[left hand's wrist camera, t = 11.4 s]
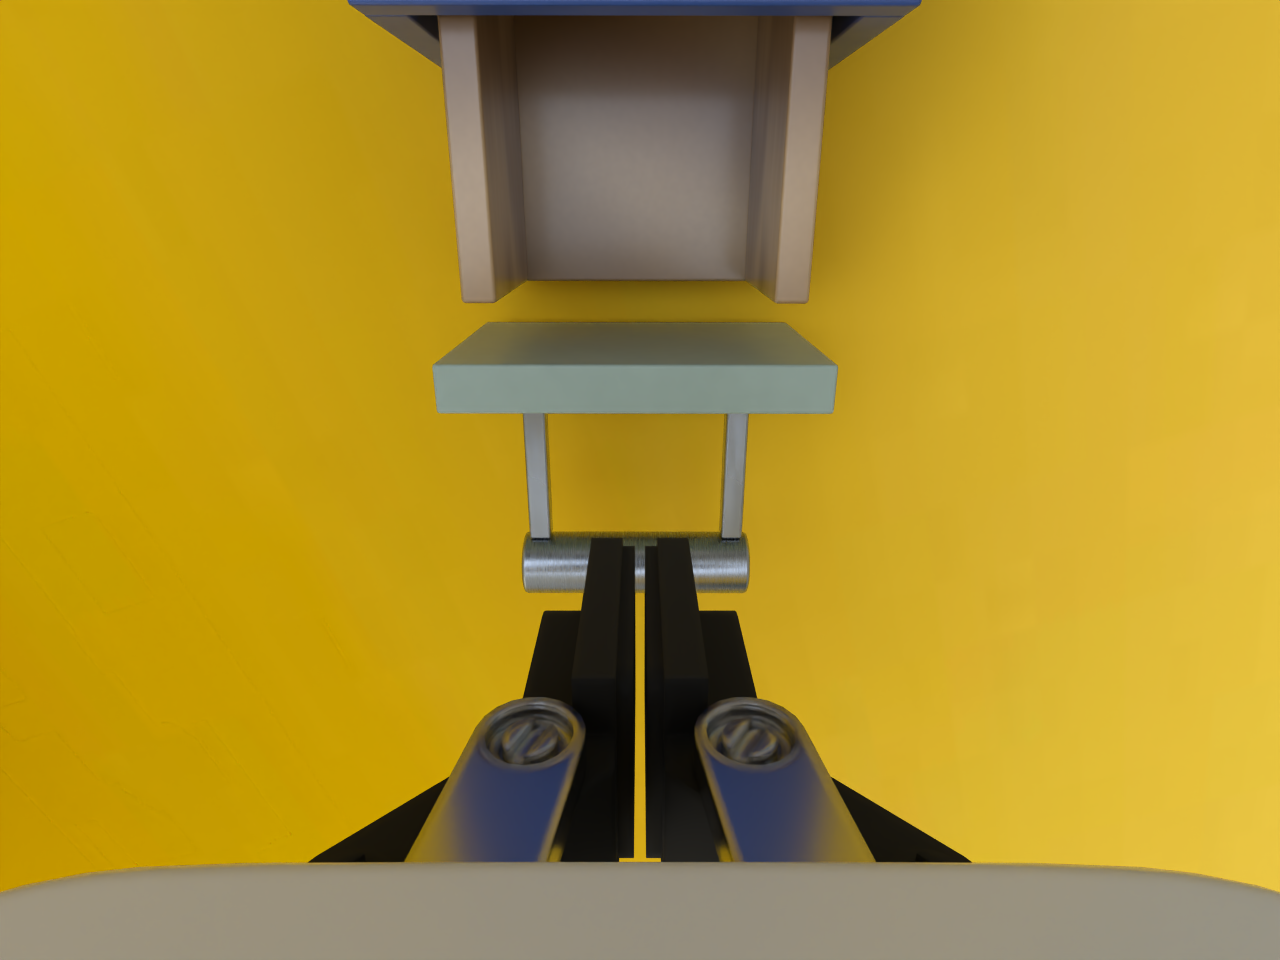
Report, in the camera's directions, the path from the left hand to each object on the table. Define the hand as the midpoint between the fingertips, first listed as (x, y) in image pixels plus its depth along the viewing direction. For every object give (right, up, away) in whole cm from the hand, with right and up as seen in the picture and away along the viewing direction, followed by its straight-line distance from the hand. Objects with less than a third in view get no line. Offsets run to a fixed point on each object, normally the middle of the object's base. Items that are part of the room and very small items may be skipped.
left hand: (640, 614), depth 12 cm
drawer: (0, +9, +10) cm, 13 cm away
